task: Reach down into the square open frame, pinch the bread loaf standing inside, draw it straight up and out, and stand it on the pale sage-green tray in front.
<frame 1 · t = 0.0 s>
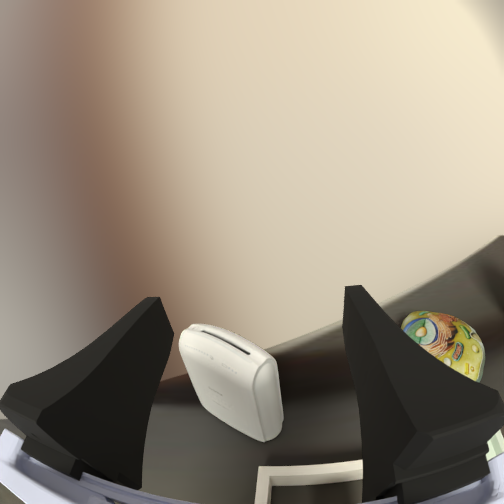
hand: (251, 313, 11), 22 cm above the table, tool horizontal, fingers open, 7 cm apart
photo printer: (241, 416, 30), on the table
cell model: (436, 365, 31), on the table
tray: (466, 484, 14), on the table
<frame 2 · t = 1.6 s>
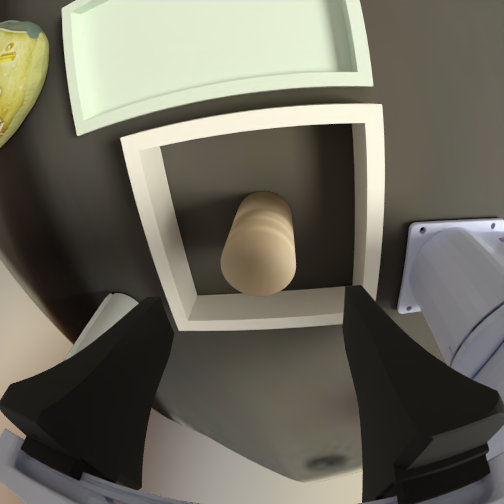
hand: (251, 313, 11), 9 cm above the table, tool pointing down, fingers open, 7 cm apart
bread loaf: (261, 237, 17), in the square open frame
photo printer: (123, 328, 26), on the table
cell model: (9, 90, 15), on the table
square open frame: (264, 217, 19), on the table
tray: (202, 25, 13), on the table
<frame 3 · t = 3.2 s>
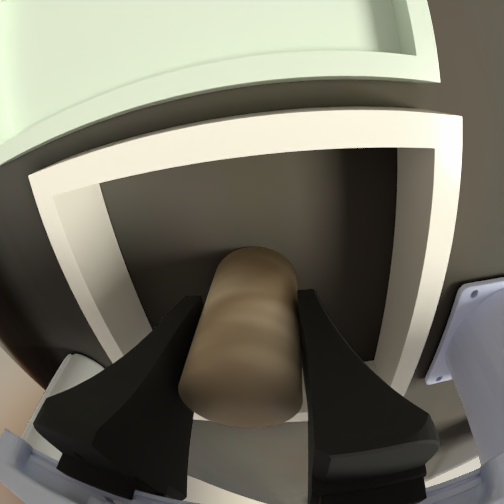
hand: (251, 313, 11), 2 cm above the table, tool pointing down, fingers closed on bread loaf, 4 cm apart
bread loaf: (249, 331, 10), in the square open frame, touching gripper
photo printer: (92, 385, 20), on the table
square open frame: (255, 283, 13), on the table
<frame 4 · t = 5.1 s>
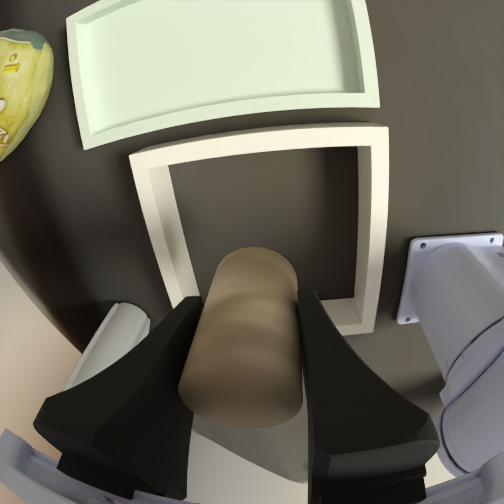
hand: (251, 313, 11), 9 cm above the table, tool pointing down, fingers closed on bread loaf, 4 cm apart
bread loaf: (249, 331, 10), point 10 cm above the table, touching gripper
photo printer: (128, 335, 27), on the table
cell model: (13, 99, 16), on the table
square open frame: (269, 233, 20), on the table
tray: (210, 40, 14), on the table
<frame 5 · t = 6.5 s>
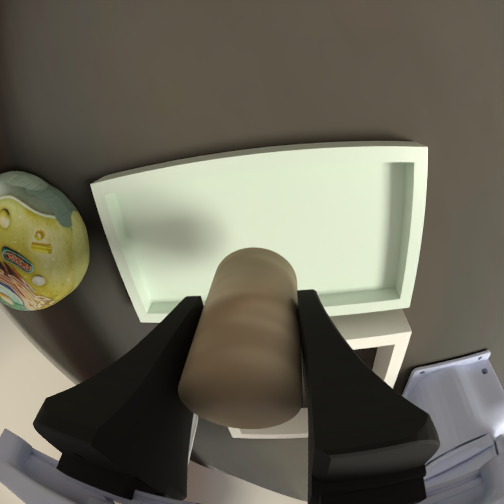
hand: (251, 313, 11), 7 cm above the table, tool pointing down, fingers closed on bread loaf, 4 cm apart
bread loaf: (249, 332, 10), point 8 cm above the table, touching gripper
cell model: (37, 233, 19), on the table
square open frame: (303, 373, 23), on the table
tray: (262, 234, 17), on the table
when the fingers open (4 cm above the table, at t = 7.3 s): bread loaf drops 1 cm, resting on tray.
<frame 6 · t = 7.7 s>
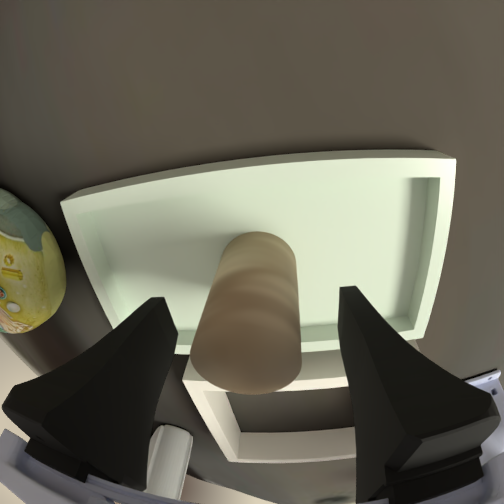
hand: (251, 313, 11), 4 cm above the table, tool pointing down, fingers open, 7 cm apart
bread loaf: (253, 305, 12), in the tray, point 4 cm above the table
photo printer: (169, 438, 28), on the table
cell model: (15, 249, 17), on the table
square open frame: (304, 400, 21), on the table
tray: (258, 258, 15), on the table
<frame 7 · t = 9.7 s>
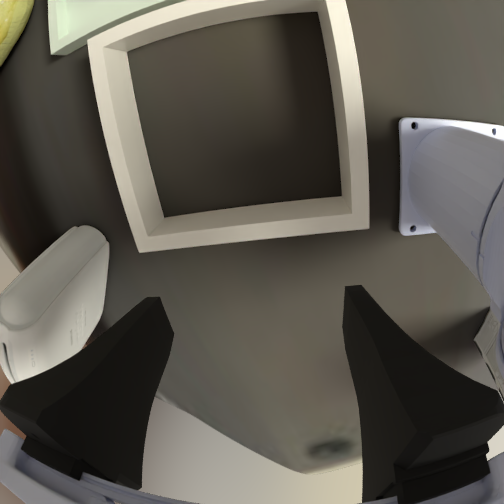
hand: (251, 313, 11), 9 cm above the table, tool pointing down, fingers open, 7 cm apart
photo printer: (90, 272, 23), on the table
square open frame: (232, 113, 16), on the table
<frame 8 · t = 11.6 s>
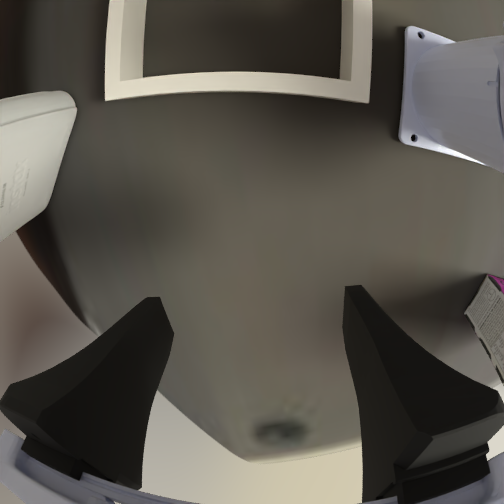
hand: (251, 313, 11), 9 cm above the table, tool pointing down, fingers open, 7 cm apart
photo printer: (49, 151, 18), on the table
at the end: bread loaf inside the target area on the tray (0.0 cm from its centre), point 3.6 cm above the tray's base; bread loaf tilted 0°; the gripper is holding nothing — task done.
